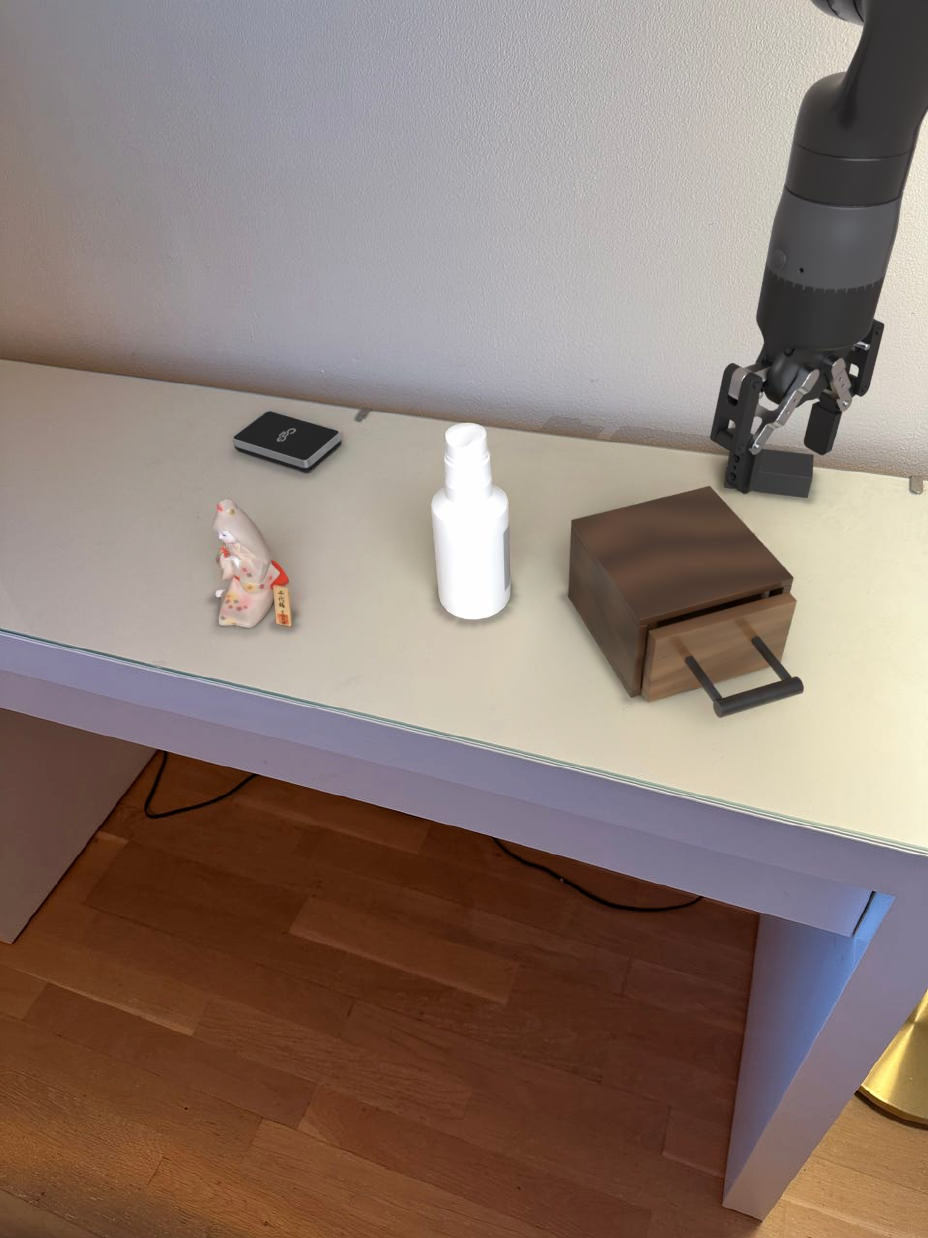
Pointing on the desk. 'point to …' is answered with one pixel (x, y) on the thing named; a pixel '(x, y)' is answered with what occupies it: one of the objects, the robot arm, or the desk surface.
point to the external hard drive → (287, 441)
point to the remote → (784, 473)
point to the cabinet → (662, 570)
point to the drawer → (722, 652)
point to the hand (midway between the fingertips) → (779, 468)
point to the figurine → (248, 571)
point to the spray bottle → (471, 529)
